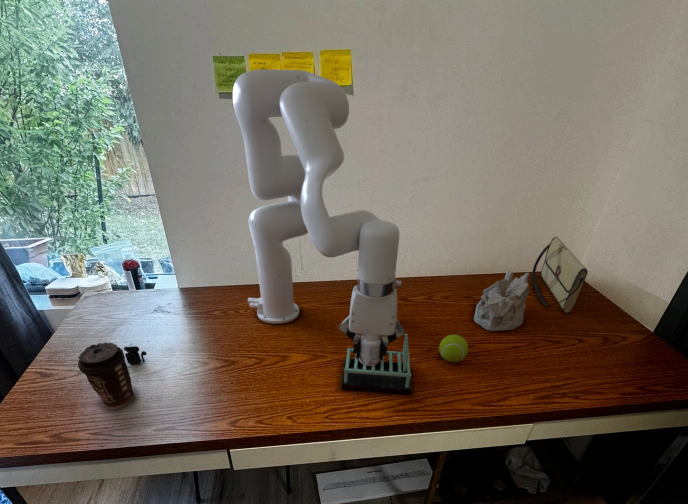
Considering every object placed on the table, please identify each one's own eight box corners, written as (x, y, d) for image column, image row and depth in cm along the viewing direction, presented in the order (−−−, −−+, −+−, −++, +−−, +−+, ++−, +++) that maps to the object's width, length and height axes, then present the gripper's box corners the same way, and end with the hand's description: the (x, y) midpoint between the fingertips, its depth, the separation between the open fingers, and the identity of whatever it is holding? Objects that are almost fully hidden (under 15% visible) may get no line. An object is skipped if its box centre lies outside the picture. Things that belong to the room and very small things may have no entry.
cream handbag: (525, 274, 144) (538, 234, 135) (545, 275, 143) (559, 235, 134) (549, 315, 120) (567, 270, 111) (573, 317, 120) (593, 271, 111)
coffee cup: (106, 386, 91) (86, 340, 83) (144, 384, 92) (127, 338, 84) (91, 413, 84) (67, 365, 76) (131, 411, 85) (112, 363, 77)
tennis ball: (464, 370, 98) (470, 347, 94) (435, 364, 100) (440, 342, 96) (465, 354, 103) (471, 332, 99) (438, 349, 105) (443, 327, 101)
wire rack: (341, 389, 92) (342, 350, 85) (344, 363, 100) (346, 325, 93) (410, 395, 90) (417, 355, 84) (408, 368, 98) (414, 330, 92)
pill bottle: (381, 356, 93) (384, 326, 88) (376, 368, 90) (379, 337, 85) (362, 352, 94) (364, 322, 89) (356, 363, 91) (358, 333, 86)
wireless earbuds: (119, 366, 97) (113, 349, 94) (122, 359, 99) (116, 343, 96) (148, 364, 98) (143, 348, 95) (151, 358, 100) (146, 342, 97)
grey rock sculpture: (498, 299, 128) (510, 256, 118) (533, 326, 116) (549, 281, 106) (456, 308, 124) (464, 265, 115) (487, 338, 112) (499, 292, 103)
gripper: (416, 279, 83) (405, 349, 94) (336, 274, 84) (334, 344, 95) (418, 295, 77) (407, 368, 88) (332, 290, 78) (331, 363, 89)
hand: (369, 355), depth 91 cm, fingers closed on pill bottle, 4 cm apart
